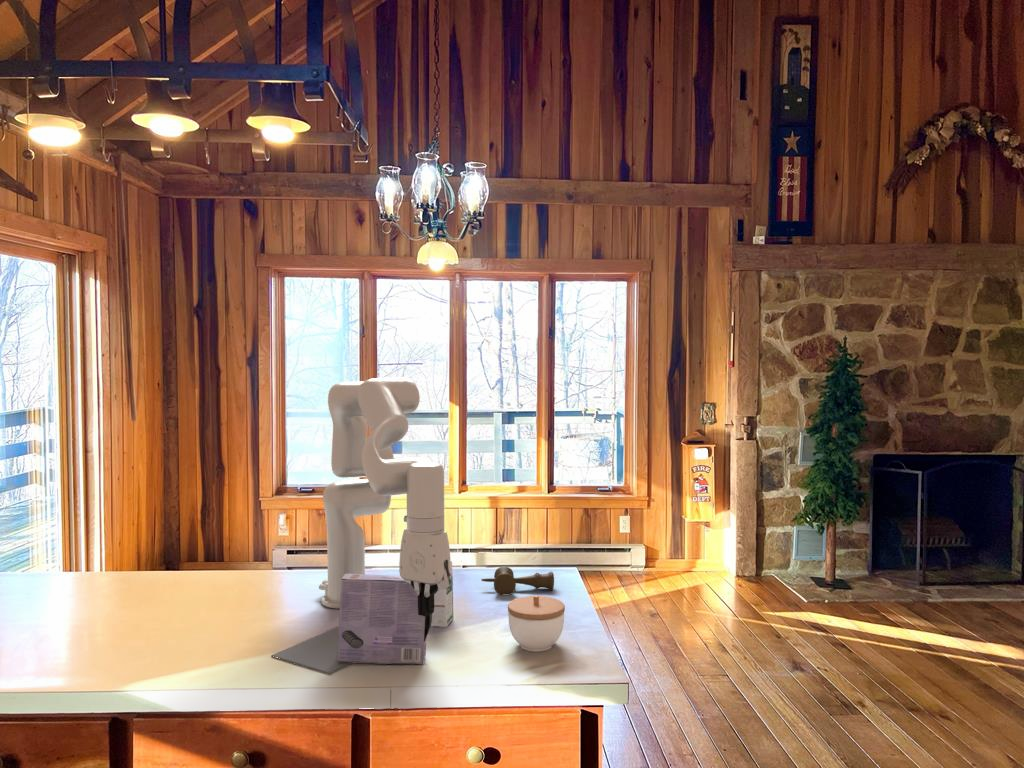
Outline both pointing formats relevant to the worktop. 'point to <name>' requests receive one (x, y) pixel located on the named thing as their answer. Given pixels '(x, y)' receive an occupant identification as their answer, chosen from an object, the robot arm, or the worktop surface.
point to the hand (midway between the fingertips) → (426, 613)
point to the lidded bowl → (536, 621)
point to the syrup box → (443, 605)
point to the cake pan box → (380, 621)
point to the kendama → (518, 580)
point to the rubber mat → (316, 653)
